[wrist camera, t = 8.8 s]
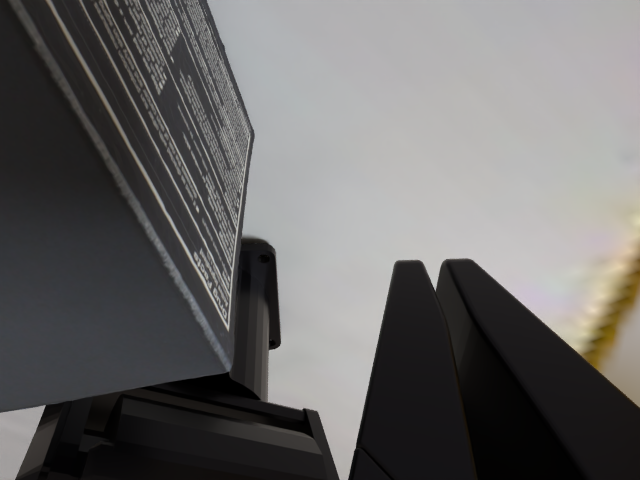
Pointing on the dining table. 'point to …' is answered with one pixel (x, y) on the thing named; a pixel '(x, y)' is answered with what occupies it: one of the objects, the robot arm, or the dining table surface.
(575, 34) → the dining table surface
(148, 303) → the small box
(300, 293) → the dining table surface
